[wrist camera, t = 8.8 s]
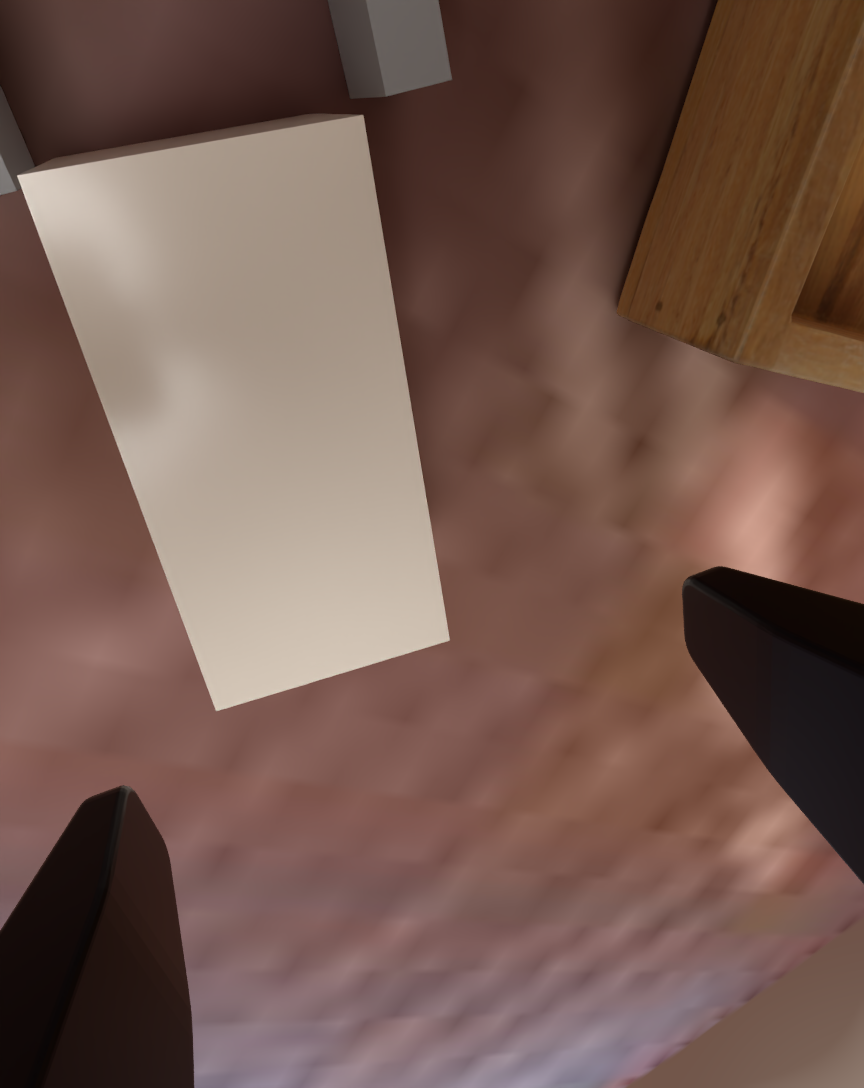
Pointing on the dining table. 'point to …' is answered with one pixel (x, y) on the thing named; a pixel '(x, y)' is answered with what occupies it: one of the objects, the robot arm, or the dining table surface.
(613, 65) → the dining table surface
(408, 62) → the holder
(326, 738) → the dining table surface
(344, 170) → the block
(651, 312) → the tray
